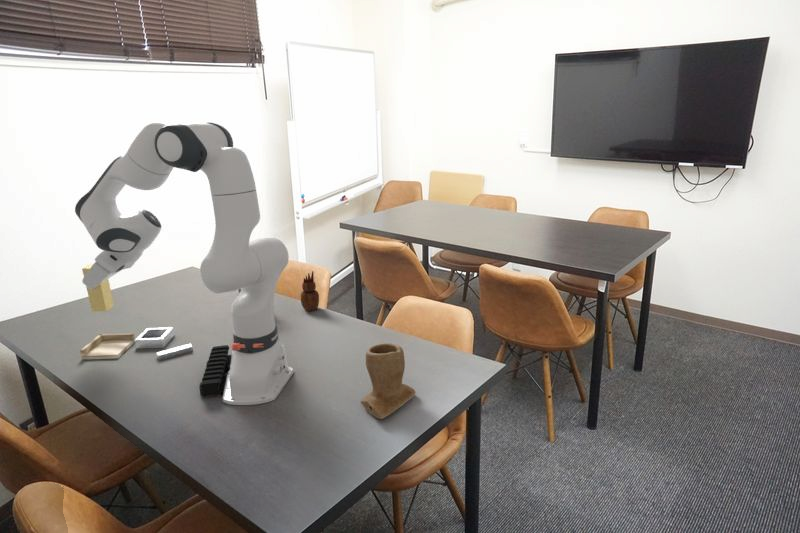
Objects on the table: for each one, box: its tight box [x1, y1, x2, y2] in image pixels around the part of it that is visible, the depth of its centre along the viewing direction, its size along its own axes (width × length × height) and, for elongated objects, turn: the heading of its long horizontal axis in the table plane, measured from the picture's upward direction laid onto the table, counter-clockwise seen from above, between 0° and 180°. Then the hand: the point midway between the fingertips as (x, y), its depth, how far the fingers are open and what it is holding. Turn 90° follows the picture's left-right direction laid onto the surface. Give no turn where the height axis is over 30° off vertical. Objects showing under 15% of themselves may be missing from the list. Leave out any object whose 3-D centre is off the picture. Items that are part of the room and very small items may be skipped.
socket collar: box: [134, 326, 176, 349], centre depth 161 cm, size 9×9×3 cm
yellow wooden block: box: [81, 263, 115, 312], centre depth 150 cm, size 4×4×14 cm
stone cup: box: [360, 342, 416, 420], centre depth 124 cm, size 15×12×15 cm
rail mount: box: [198, 344, 232, 397], centre depth 138 cm, size 21×6×5 cm, turn 12°
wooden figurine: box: [300, 270, 320, 312], centre depth 182 cm, size 7×6×15 cm
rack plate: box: [80, 332, 136, 360], centre depth 155 cm, size 11×11×3 cm
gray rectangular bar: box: [156, 343, 194, 361], centre depth 153 cm, size 10×2×2 cm, turn 124°
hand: (95, 285), depth 150 cm, fingers closed on yellow wooden block, 4 cm apart
